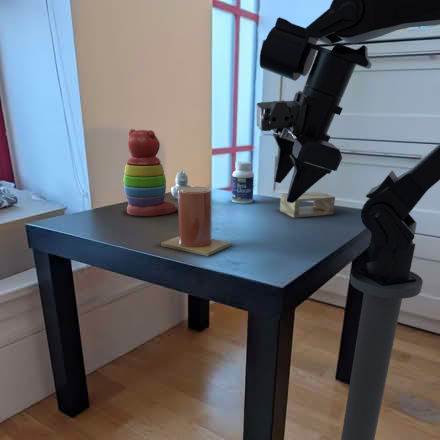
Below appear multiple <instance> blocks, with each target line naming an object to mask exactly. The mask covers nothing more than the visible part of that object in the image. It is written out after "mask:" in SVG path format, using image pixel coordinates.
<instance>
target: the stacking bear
mask: <svg viewBox="0 0 440 440" xmlns="http://www.w3.org/2000/svg"><path fill="white" fill-rule="evenodd" d="M127 138H128V139H127V143H126V144H127V149H128V152H129V154H130V156H131V157H129V158H128V159H127V161H126V164H125V167H124V175H123V189H124V193H125V197H126V200H127V203H128V205H127V206H126V213H127V214H128V215H130V216H134V217H156V216H162V215H168V214H171V213H175V212H177V207H176V205H175V204H174V203H173V202H169V201H166V200H165V197H166V196H165V195H166V191H167V180H166V175H165V170H164V167H163V164H162V163H161V160H160V159H159V158H158V157H157V155H158V153H159V150H160V147H161V146H160V145H161V144H160V141H159V139H158V136H156V133H155V132H154V130H151V129H150V130H146V129H138V130H135V129H134V128H132V129H130V130H129V131H128V137H127Z"/></svg>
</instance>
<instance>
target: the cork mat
mask: <svg viewBox="0 0 440 440" xmlns="http://www.w3.org/2000/svg"><path fill="white" fill-rule="evenodd" d="M231 245H232V243H231V242H230V241H226V240H220V239H215V238H212V243H211V244H210V245H207V246H203V247H187V246H183V245H181V244H180V243H179V235H178V236H176V237H172V238H169V239H167V240H164V241H162V242H160V246H161V247H164V248H170V249H173V250H177V251H183V252H187V253H191V254H195V255H199V256H200V255H201V256H205V257H209V256H212V255H214V254H216V253H218V252H220V251H222V250H224V249H227V248H229V247H231Z"/></svg>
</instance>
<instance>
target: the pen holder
mask: <svg viewBox="0 0 440 440" xmlns="http://www.w3.org/2000/svg"><path fill="white" fill-rule="evenodd" d="M212 201H213V199H212V189H211V188H207V187H202V186H201V187H199V186H191V187H189V188H182V189H179V190H178V199H177V212H178V213H177V214H178V236H179V243H180V244H181V245H183V246H187V247H203V246H207V245H210V244H211V243H212V239H213V238H212V237H213V235H212V234H213V233H212V231H213V230H212V227H213V225H212V223H213V221H212V220H213V219H212V217H213V216H212V213H213V212H212V210H213V209H212V207H213V206H212V205H213V204H212Z"/></svg>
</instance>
